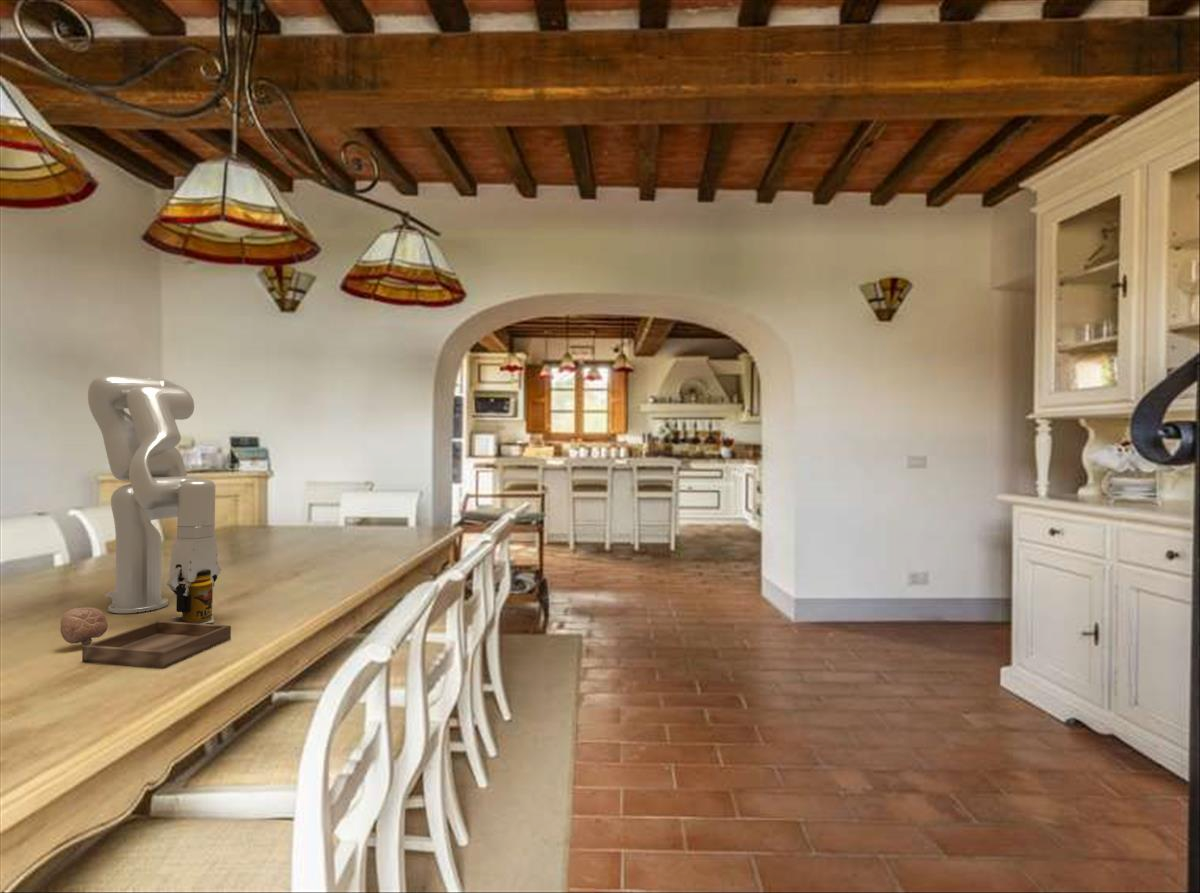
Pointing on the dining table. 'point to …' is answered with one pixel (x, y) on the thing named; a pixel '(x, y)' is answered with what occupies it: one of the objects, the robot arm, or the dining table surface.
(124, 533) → the robot arm
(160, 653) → the tray
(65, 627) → the mushroom
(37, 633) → the dining table surface
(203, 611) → the condiment
